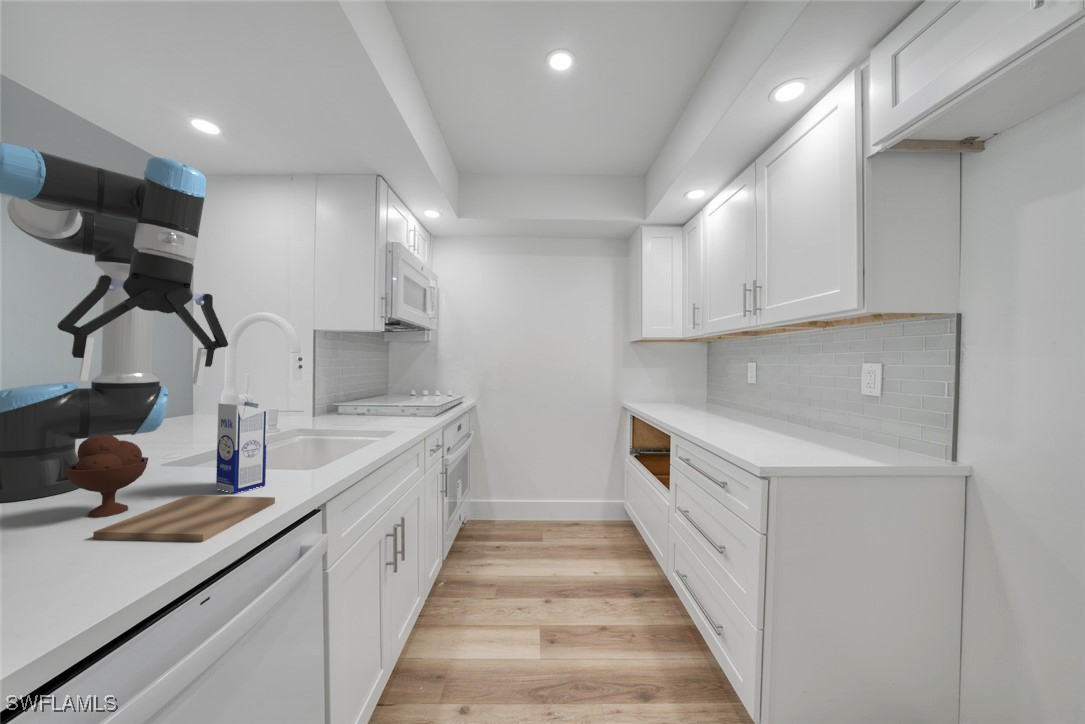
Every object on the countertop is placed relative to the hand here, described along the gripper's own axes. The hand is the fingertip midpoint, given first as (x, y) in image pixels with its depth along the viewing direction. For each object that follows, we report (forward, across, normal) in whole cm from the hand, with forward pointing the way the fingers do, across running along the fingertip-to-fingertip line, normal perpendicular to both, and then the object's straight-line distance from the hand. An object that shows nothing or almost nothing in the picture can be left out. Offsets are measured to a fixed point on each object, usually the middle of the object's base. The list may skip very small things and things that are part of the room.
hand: (144, 382), depth 67 cm
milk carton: (+26, +21, +16) cm, 37 cm away
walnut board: (+26, +10, 0) cm, 27 cm away
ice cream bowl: (+28, 0, +16) cm, 33 cm away
